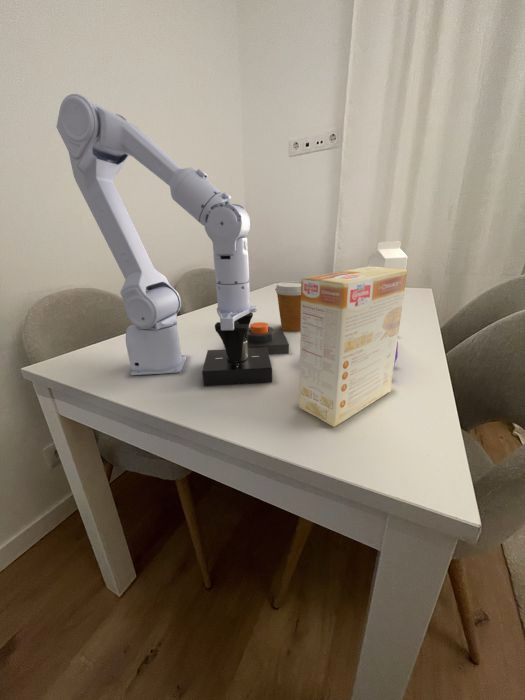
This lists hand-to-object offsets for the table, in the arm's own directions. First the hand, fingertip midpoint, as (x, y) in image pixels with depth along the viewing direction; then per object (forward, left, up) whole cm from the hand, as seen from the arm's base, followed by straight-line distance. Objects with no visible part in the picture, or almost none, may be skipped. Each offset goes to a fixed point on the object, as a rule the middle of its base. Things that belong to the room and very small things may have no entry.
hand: (237, 355), depth 56 cm
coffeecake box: (+17, -12, -4) cm, 21 cm away
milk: (+35, +17, -4) cm, 39 cm away
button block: (+5, +13, -3) cm, 14 cm away
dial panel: (0, 0, -3) cm, 3 cm away
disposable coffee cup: (+15, +26, -4) cm, 30 cm away
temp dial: (0, 0, 0) cm, 0 cm away
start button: (+5, +13, 0) cm, 14 cm away
